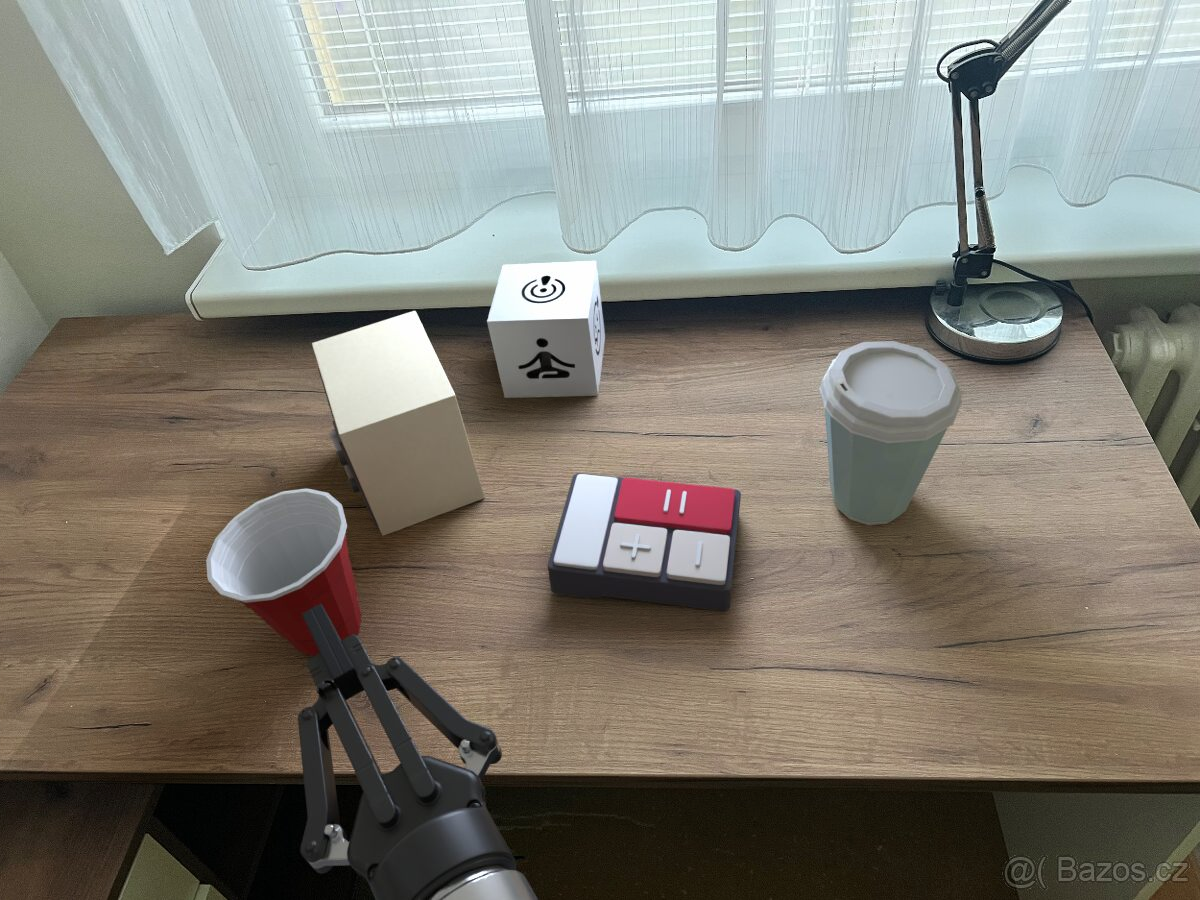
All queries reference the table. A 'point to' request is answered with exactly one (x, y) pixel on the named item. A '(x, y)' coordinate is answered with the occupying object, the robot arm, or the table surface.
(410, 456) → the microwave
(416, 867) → the robot arm
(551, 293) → the icon cube
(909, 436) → the disposable coffee cup
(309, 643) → the plastic cup
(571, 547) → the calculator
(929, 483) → the table surface
